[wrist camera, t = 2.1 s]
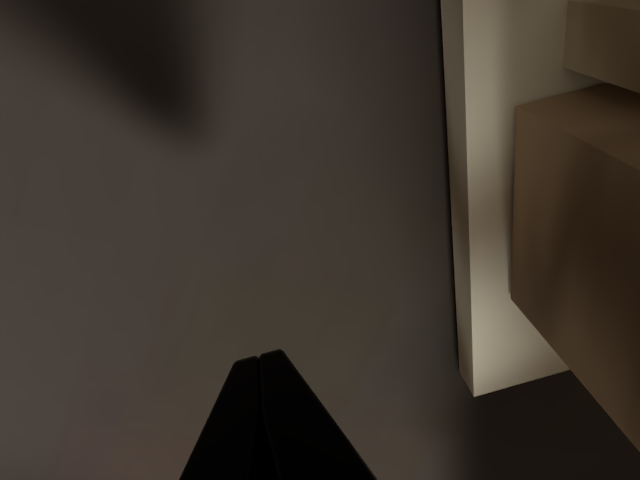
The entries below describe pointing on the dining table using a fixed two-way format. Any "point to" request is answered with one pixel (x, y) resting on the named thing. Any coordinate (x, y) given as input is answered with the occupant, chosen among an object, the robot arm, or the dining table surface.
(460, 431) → the dining table surface
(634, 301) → the wooden slider block
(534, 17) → the gauge bed
